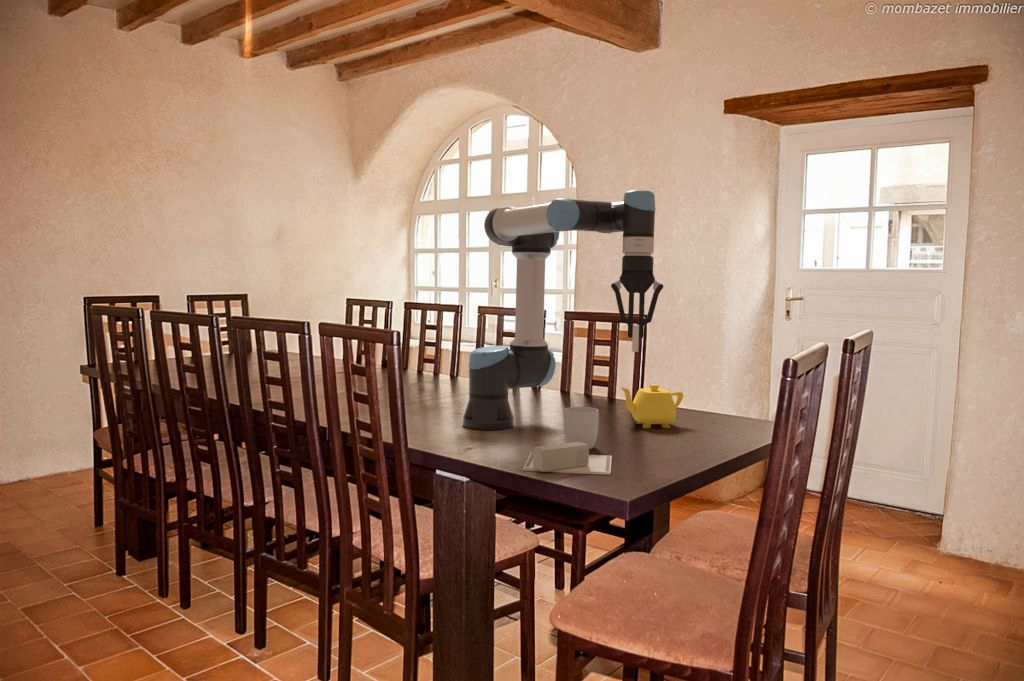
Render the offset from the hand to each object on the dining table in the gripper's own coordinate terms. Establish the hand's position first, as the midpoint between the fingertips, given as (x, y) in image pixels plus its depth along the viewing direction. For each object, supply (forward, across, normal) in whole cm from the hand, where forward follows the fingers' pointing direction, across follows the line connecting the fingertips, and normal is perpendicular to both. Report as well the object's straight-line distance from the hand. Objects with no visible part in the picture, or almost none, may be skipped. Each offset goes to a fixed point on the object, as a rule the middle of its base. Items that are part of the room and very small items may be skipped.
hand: (635, 351), depth 184 cm
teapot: (+27, +6, +41) cm, 49 cm away
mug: (+27, -14, +9) cm, 31 cm away
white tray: (+26, -15, -11) cm, 32 cm away
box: (+23, -11, -12) cm, 29 cm away
